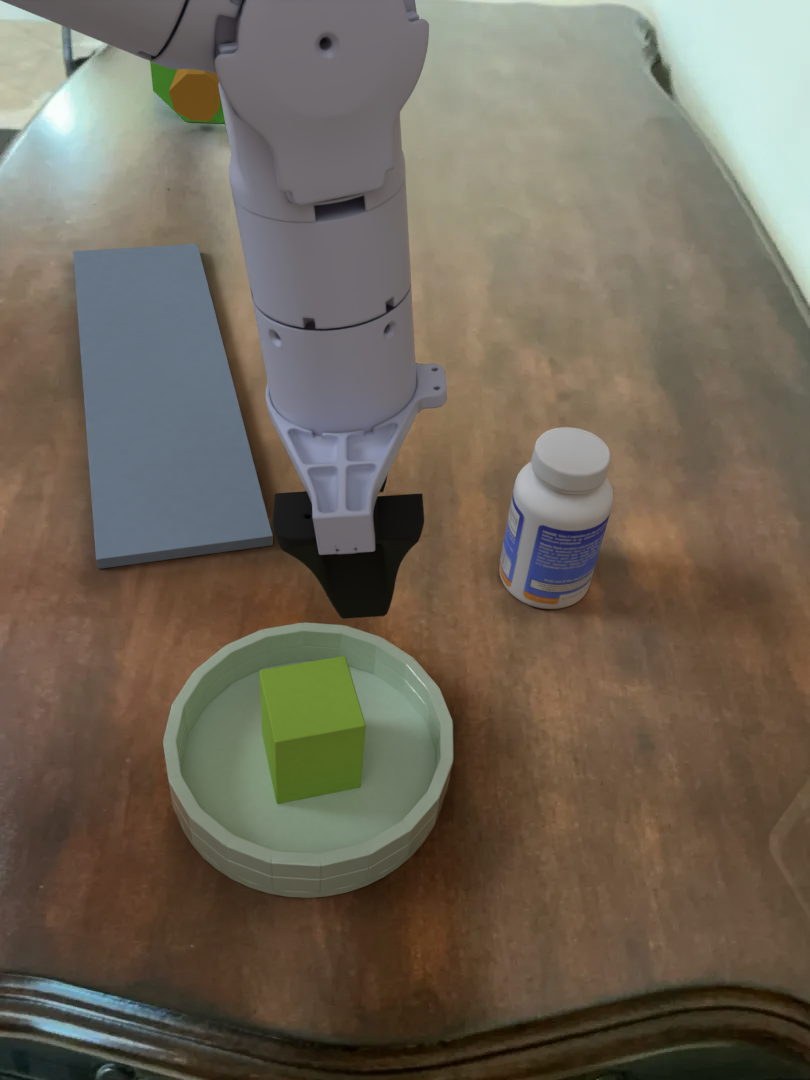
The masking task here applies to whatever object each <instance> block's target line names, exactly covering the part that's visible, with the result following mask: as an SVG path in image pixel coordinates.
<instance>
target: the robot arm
mask: <svg viewBox="0 0 810 1080" xmlns="http://www.w3.org/2000/svg"><path fill="white" fill-rule="evenodd" d="M0 2H3V3H6V4H8V5H11V6H13V7H15V8H18V9H20V10H23V11H26V12H28V13H30V14H33V15H35V16H38V17H40V18H43V19H45V20H47V21H50V22H52V23H55V24H58V25H60V26H63V27H64V28H66V29H69V30H72V31H75V32H77V33H79V34H82V35H85V36H87V37H89V38H92V39H94V40H96V41H99V42H102V43H104V44H107V45H109V46H112V47H114V48H116V49H119V50H121V51H124V52H126V53H129V54H131V55H134V56H136V57H138V58H141V59H144V60H146V61H149V62H150V61H151V62H153V63H155V64H158V65H160V66H163V67H166V68H171V69H194V70H202V71H207V72H211V73H217V76H218V79H219V84H218V87H219V92H220V97H221V103H222V108H223V114H224V119H225V123H224V124H225V129H226V130H225V131H226V134H227V140H228V147H229V150H230V157H229V159H230V160H229V164H228V179H229V184H230V189H231V195H232V201H233V205H234V211H235V216H236V222H237V227H238V232H239V237H240V242H241V247H242V253H243V258H244V263H245V268H246V273H247V279H248V284H249V290H250V293H251V294H250V295H251V302H252V306H253V312H254V316H255V317H254V318H255V321H256V327H257V333H258V338H259V342H260V348H261V353H262V359H263V362H264V363H263V365H264V369H265V374H266V379H267V382H266V387H265V401H266V408H267V412H268V415H269V418H270V420H271V423H272V425H273V426H274V429H275V430H276V433H277V435H278V437H279V439H280V440H281V442H282V444H283V447H284V448H285V451H286V452H287V455H288V457H289V458H290V461H291V463H292V465H293V467H294V469H295V472H296V473H297V475H298V477H299V479H300V481H301V483H302V485H303V487H304V489H305V491H303V490H302V491H289V492H275V493H274V495H273V506H272V520H271V522H272V524H271V525H272V529H273V536H274V538H275V540H276V542H277V544H278V546H279V548H280V550H281V551H283V552H285V553H286V554H288V555H289V556H291V557H293V558H295V559H296V560H298V561H300V562H301V563H302V564H303V565H304V566H305V567H307V569H308V570H310V572H312V574H313V575H314V577H315V578H316V579H317V581H318V583H319V584H320V586H321V588H322V589H323V591H324V593H325V595H326V596H327V598H328V601H329V602H330V604H331V605H332V607H333V608H334V610H335V612H336V613H337V614H338V616H339V617H340V618H341V619H359V618H375V617H385V616H386V615H388V612H389V610H390V608H391V604H392V601H393V597H394V592H395V586H396V582H397V576H398V572H399V569H400V567H401V564H402V562H403V560H404V558H405V557H406V556H407V554H408V552H409V551H410V550H411V549H412V548H413V547H414V546H415V545H416V544H417V543H419V541H420V539H421V535H422V533H423V529H424V525H425V512H424V511H425V510H424V496H423V493H422V492H421V493H408V494H391V495H380V493H384V491H385V487H386V484H387V480H388V475H389V473H390V471H391V469H392V468H393V467H392V466H393V464H394V462H395V460H396V459H397V456H398V455H399V452H400V450H401V448H402V446H403V445H404V442H405V440H406V438H407V436H408V434H409V432H410V430H411V427H412V425H413V423H414V421H415V420H416V417H417V415H418V414H419V413H420V412H421V411H424V410H427V409H437V408H441V407H443V406H444V405H446V404H447V402H448V384H447V375H446V370H445V367H444V366H443V365H440V364H438V363H418V362H416V347H415V345H416V344H415V328H414V310H413V290H412V289H413V288H412V273H411V272H412V271H411V256H410V255H411V253H410V236H409V235H410V233H409V220H408V219H409V217H408V216H409V215H408V198H407V197H408V196H407V195H408V194H407V180H406V172H407V171H406V159H405V154H404V151H403V145H402V142H403V141H402V127H401V126H402V125H401V111H402V109H403V108H404V106H405V105H406V103H407V102H408V100H409V99H410V98H411V96H412V94H413V92H414V90H415V88H416V86H417V85H418V81H419V79H420V78H421V75H422V72H423V69H424V66H425V63H426V62H425V61H426V59H427V53H428V47H429V40H430V39H429V38H430V23H429V22H428V20H426V19H424V18H420V15H419V14H418V11H417V6H416V0H0Z"/></svg>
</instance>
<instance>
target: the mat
mask: <svg viewBox="0 0 810 1080" xmlns="http://www.w3.org/2000/svg"><path fill="white" fill-rule="evenodd" d="M72 254H73V266H74V267H73V268H74V270H73V271H74V278H75V279H74V283H75V296H76V308H77V309H76V310H77V321H78V335H79V336H78V337H79V348H80V361H81V375H82V376H81V377H82V387H83V388H82V389H83V390H82V391H83V401H84V415H85V428H86V443H87V457H88V469H89V470H88V471H89V481H90V482H89V483H90V484H89V485H90V496H91V497H90V498H91V507H92V508H91V510H92V520H93V521H92V522H93V537H94V538H93V539H94V549H95V550H94V551H95V561H96V567H97V569H98V570H101V569H109V568H116V567H123V566H131V565H137V564H138V565H139V564H144V563H145V564H146V563H152V562H153V563H154V562H159V561H166V560H174V559H183V558H190V557H197V556H204V555H211V554H219V553H226V552H233V551H234V552H235V551H240V550H248V549H257V548H262V547H270V546H273V545H274V534H273V531H272V528H271V523H270V520H269V516H268V513H267V512H268V511H267V508H266V504H265V500H264V497H263V493H262V488H261V485H260V481H259V477H258V473H257V469H256V465H255V461H254V458H253V454H252V450H251V446H250V441H249V439H248V434H247V430H246V426H245V422H244V418H243V415H242V411H241V407H240V403H239V399H238V396H237V392H236V388H235V383H234V380H233V376H232V372H231V368H230V365H229V361H228V356H227V353H226V348H225V345H224V341H223V338H222V334H221V333H222V332H221V330H220V325H219V322H218V318H217V314H216V309H215V307H214V302H213V298H212V295H211V291H210V286H209V283H208V280H207V276H206V272H205V267H204V264H203V263H204V262H203V260H202V256H201V252H200V248H199V244H198V243H188V244H187V243H186V244H172V245H155V246H137V247H135V246H134V247H120V248H118V247H117V248H104V249H103V248H102V249H88V250H87V249H86V250H85V249H84V250H73V251H72Z"/></svg>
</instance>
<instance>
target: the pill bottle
mask: <svg viewBox="0 0 810 1080" xmlns="http://www.w3.org/2000/svg"><path fill="white" fill-rule="evenodd" d="M611 456H612V455H611V451H610V449H609V446H608V445H607V443H606V442H604V441H603V439H602V438H600V437H599V436H597V435H596V434H594V433H593V432H590V431H588V430H585V429H582V428H578V427H572V426H571V427H569V426H562V427H555V428H551V429H549V430H546V431H544V432H542V434H541V435H539V436H538V438H537V440H536V441H535V445H534V449H533V452H532V456H531V460H530V461H529V462H528V463H526V464H525V465H524V466H523V467H522V468H521V469H520V471H518V473H517V475H516V478H515V481H514V486H513V490H512V495H511V501H510V506H509V511H508V515H507V522H506V527H505V532H504V535H503V536H504V537H503V543H502V547H501V553H500V558H499V568H498V569H499V570H498V571H499V576H500V580H501V582H502V584H503V586H504V587H505V589H506V590H507V591H508V592H509V594H511V595H512V596H513V597H514V598H516V599H517V600H518V601H519V602H522V603H524V604H525V605H528V606H529V607H530V606H531V607H533V608H537V609H544V610H558V609H564V608H567V607H570V606H572V605H574V604H577V603H578V602H579V601H580V600H582V599H583V598H584V597H585V596H586V594H587V593H588V590H589V588H590V585H591V582H592V580H593V575H594V571H595V568H596V564H597V562H598V558H599V554H600V550H601V547H602V543H603V540H604V536H605V533H606V529H607V526H608V522H609V518H610V516H611V513H612V508H613V504H614V489H613V487H612V484H611V482H610V480H609V478H608V476H607V475H608V472H609V468H610V464H611V460H612V459H611Z"/></svg>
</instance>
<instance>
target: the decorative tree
mask: <svg viewBox="0 0 810 1080" xmlns="http://www.w3.org/2000/svg"><path fill="white" fill-rule="evenodd" d="M149 64H150V74H151V83H152V84H151V85H152V91H153V92H154V94H156V95H157V96H158V97H159V98H160V99H161V100H162V101H163V102H164V103H165V104H166V105H167V106H168V107H169V108H170V109H171V110H172V111H174V113H176V115H178V116H179V117H180V118H181V119H182V120H183V121H184V122H186V123H206V124H225V119H224V114H223V108H222V103H221V97H220V92H219V87H218V84H219V79H218V76H217V73H211V72H207V71H202V70H194V69H171V68H166V67H163V66H160V65H158V64H155V63H153V62H151V61H149Z"/></svg>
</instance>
